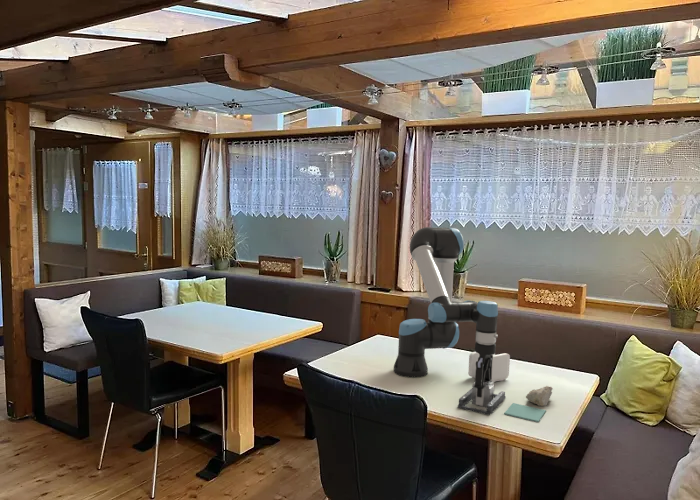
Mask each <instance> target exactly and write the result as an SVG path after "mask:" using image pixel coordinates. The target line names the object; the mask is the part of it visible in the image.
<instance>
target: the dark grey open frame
mask: <svg viewBox="0 0 700 500" xmlns="http://www.w3.org/2000/svg"><path fill="white" fill-rule="evenodd" d="M506 399H507V398H506V391H504V390H501V391H500V392H499V393H494V394H493V400H492V401H491V402H490V403H489V404H488V405H487V407H486V409H485V410H484V409H481V408H476V407H472V406H467V404H469V403H470V402H472V388H470V389H469V390H468V391H467V392H465V393H464V394H463V395H462V396H461V397H460V398H459V399H458V405H457V409H460V410H466V411H469V412H474V413H477V414H481V415H485V416H486V415H487V416H491V415H492V413H494V411H495V410H496V409H498V407H499V406H501V404H502V403H503V402H505V400H506Z"/></svg>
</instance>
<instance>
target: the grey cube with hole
mask: <svg viewBox="0 0 700 500" xmlns="http://www.w3.org/2000/svg"><path fill="white" fill-rule="evenodd" d="M494 384H495V382H490V381H486V380H484V386H483V388H484V402H483V406H481V405H479V406H480V407H485V408H487V405H488V404H489V403H490V402H491V401H492V400H493V399H494V397H493V394H495V392H494V391H495V385H494ZM474 386H475V381H474V382H473V383H472V386H471V389H472V400H471V404H472V405H476V406H478V405H477V404H476V389H477V388H475V387H474Z"/></svg>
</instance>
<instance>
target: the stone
mask: <svg viewBox="0 0 700 500" xmlns="http://www.w3.org/2000/svg"><path fill="white" fill-rule="evenodd" d="M553 390H554V389H553V387H552V386H549V385H546V386H543V387H540V388H539V389H532V390H530V391H529V392H528V393H527V394H526V396H525V399H526V400H528V402H530V403H532V404H534V405H537V406H539V407H544V406H547V404H548V403H549V401H550V398H551V396H552V394H553V392H552V391H553Z"/></svg>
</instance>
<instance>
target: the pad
mask: <svg viewBox="0 0 700 500" xmlns="http://www.w3.org/2000/svg"><path fill="white" fill-rule="evenodd" d="M546 412H547V410H546V409H544V408H543V409H542V408H537V407H533V406H528V405H524V404H519V403H515V402H512V404H511V405H510V406H508V408H507V409H506V410H505V411H504V413H503V415H506V416H509V417H514V418H519V419H523V420H526V421H527V420H528V421H530V422H536V423H539V422H540V421H541V420H542V418H543V416H544V415H545V414H546ZM540 419H541V420H540Z"/></svg>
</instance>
